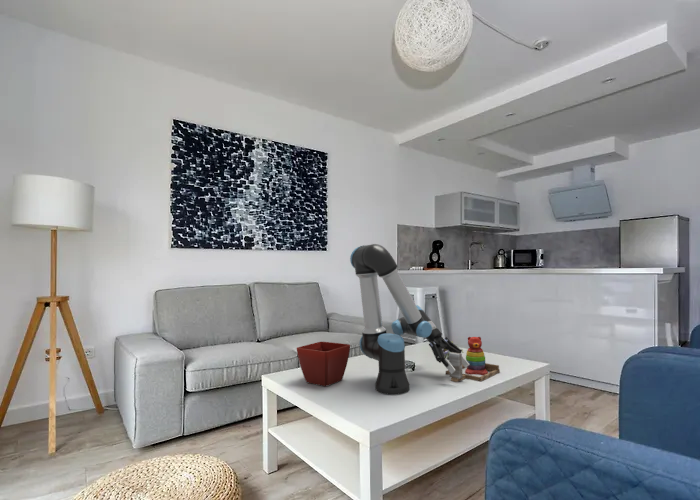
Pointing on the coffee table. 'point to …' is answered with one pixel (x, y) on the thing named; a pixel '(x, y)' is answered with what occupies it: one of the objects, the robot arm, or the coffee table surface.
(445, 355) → the passion flower
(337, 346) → the plant pot
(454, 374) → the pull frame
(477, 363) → the stacking bear
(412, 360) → the coffee table surface
